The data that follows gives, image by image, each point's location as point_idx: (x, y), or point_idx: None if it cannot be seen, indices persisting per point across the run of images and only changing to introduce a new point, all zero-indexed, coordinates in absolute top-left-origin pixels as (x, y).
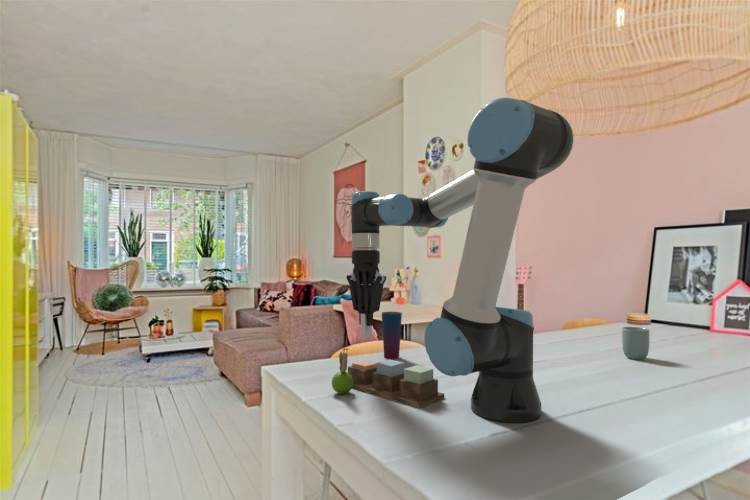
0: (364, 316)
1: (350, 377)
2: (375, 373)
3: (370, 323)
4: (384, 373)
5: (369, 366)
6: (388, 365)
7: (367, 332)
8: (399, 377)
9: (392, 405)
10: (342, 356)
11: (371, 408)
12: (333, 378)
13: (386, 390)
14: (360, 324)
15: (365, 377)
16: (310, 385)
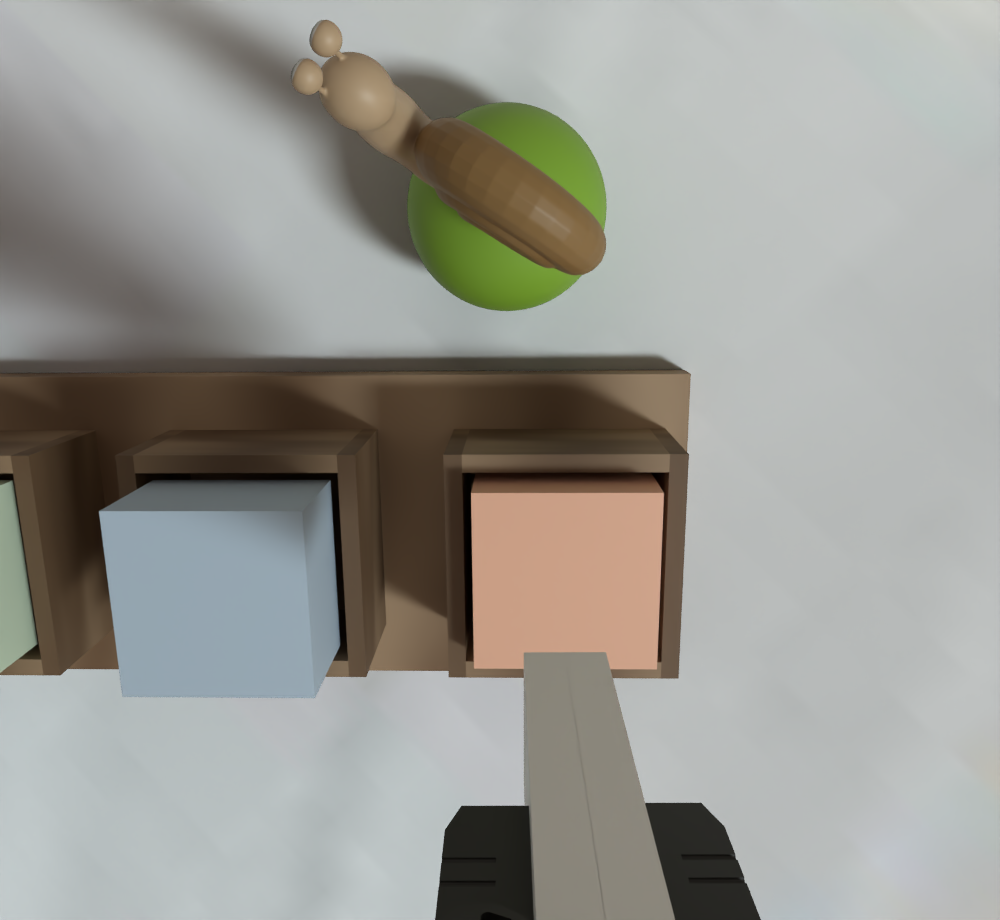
0: (541, 901)
1: (422, 233)
2: (321, 462)
3: (447, 862)
4: (226, 487)
5: (473, 545)
6: (139, 510)
7: (525, 753)
8: None
9: (42, 285)
10: (446, 130)
11: (89, 123)
12: (541, 114)
13: (221, 430)
14: (683, 807)
15: (448, 442)
16: (878, 169)
